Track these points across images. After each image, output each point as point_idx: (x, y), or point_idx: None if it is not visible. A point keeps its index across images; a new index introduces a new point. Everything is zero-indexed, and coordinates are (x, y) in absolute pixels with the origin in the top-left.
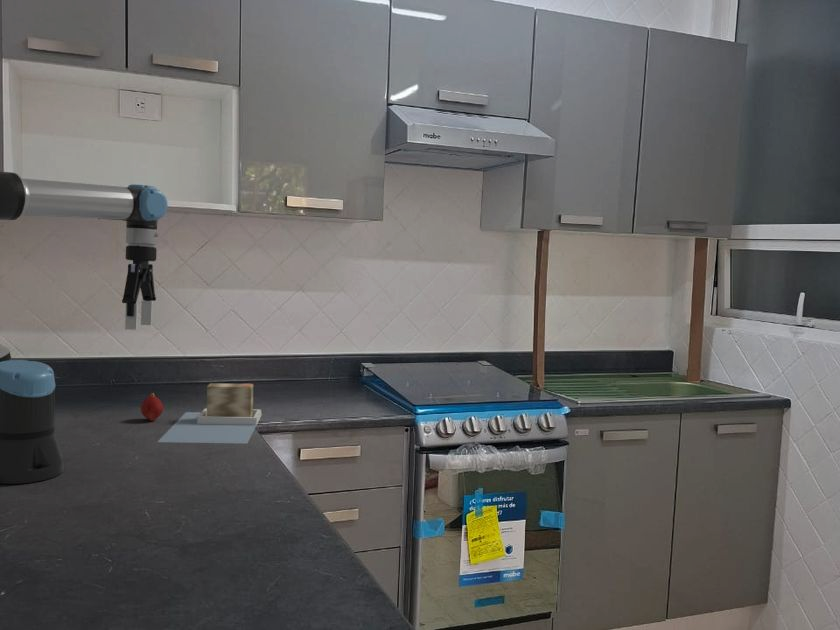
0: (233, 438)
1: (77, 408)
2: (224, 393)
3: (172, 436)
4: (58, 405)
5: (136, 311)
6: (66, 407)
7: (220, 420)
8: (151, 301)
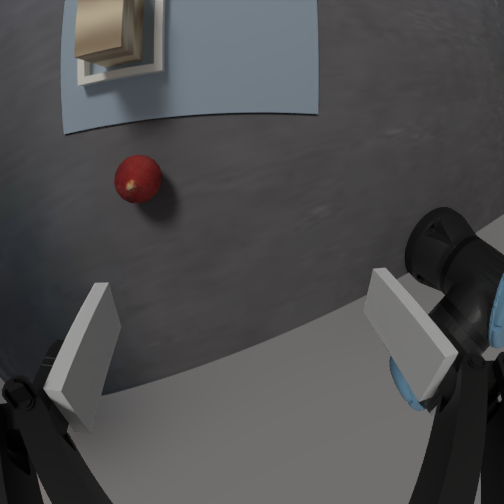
0: None
1: None
2: (127, 9)
3: (275, 94)
4: None
5: (433, 323)
6: None
7: (163, 25)
8: (62, 390)
